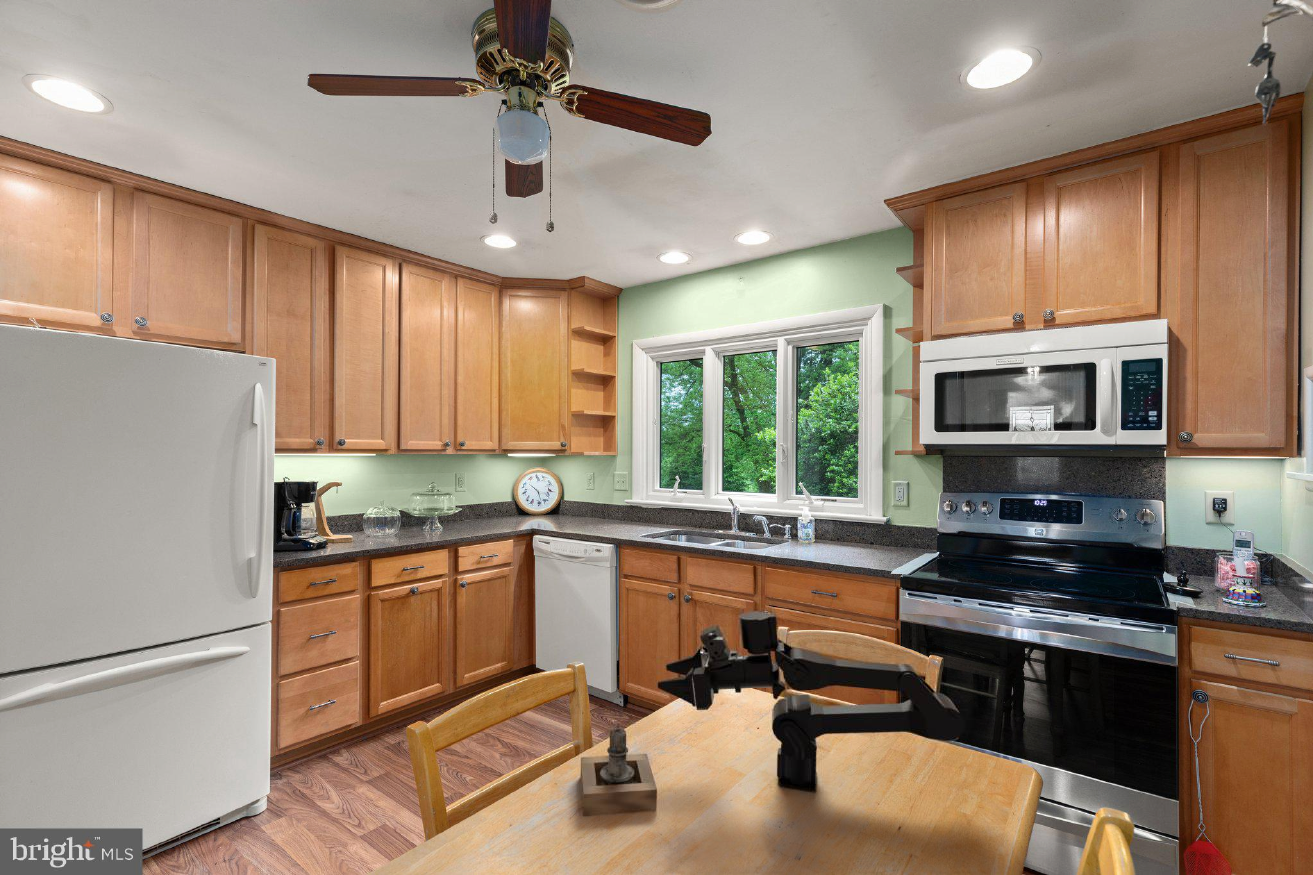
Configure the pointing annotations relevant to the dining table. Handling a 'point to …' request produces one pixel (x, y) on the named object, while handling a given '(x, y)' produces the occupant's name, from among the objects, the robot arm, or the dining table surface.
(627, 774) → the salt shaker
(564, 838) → the dining table surface
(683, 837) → the dining table surface
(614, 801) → the holder
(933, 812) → the dining table surface
